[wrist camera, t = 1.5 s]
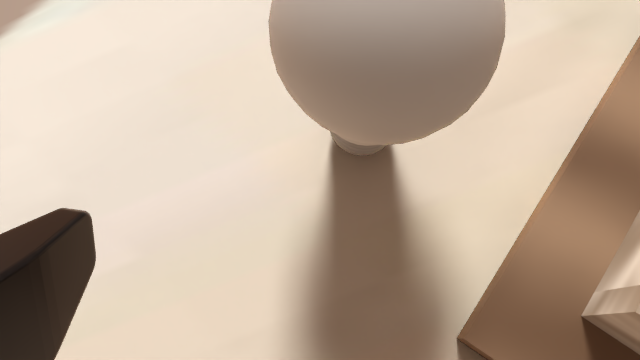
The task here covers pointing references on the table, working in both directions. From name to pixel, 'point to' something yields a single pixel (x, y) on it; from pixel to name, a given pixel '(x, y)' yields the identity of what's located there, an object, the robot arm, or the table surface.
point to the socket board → (576, 250)
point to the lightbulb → (385, 64)
